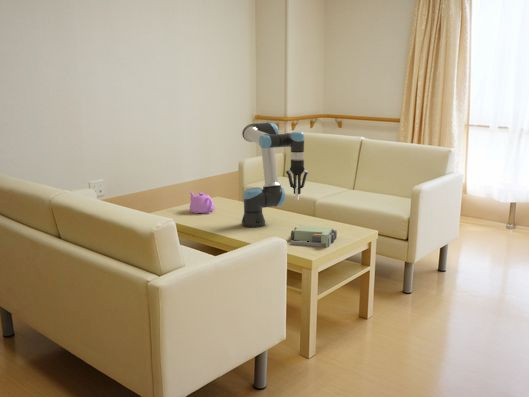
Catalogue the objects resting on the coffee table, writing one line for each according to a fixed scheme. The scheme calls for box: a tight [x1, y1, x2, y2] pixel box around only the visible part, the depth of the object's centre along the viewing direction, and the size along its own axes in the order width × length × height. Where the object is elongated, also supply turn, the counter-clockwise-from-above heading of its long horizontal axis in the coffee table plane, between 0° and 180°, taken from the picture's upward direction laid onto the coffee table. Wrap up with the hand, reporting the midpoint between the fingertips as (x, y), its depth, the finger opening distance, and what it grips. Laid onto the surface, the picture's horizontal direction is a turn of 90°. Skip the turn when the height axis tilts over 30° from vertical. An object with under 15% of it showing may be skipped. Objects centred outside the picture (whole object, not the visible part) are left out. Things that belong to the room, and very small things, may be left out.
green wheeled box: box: [290, 225, 338, 248], centre depth 318 cm, size 24×20×7 cm
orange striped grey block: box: [312, 234, 321, 243], centre depth 311 cm, size 8×5×5 cm, turn 72°
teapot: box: [189, 190, 216, 214], centre depth 396 cm, size 25×18×14 cm
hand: (297, 199), depth 322 cm, fingers closed
